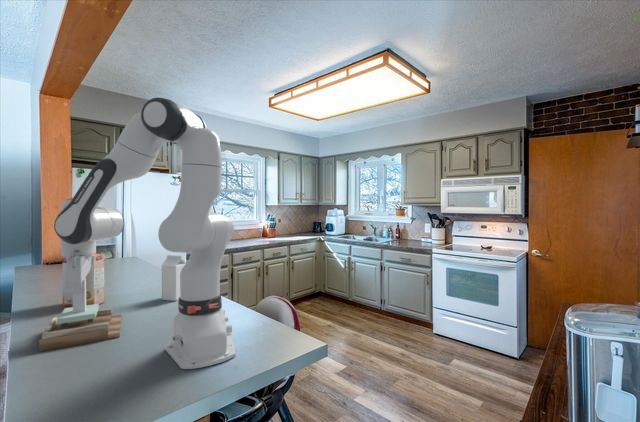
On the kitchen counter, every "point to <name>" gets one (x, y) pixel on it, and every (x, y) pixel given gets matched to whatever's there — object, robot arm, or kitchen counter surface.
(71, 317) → the mint green slab
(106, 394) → the kitchen counter surface
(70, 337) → the tray
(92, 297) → the cracker box
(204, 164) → the robot arm
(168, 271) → the milk carton
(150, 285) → the kitchen counter surface
